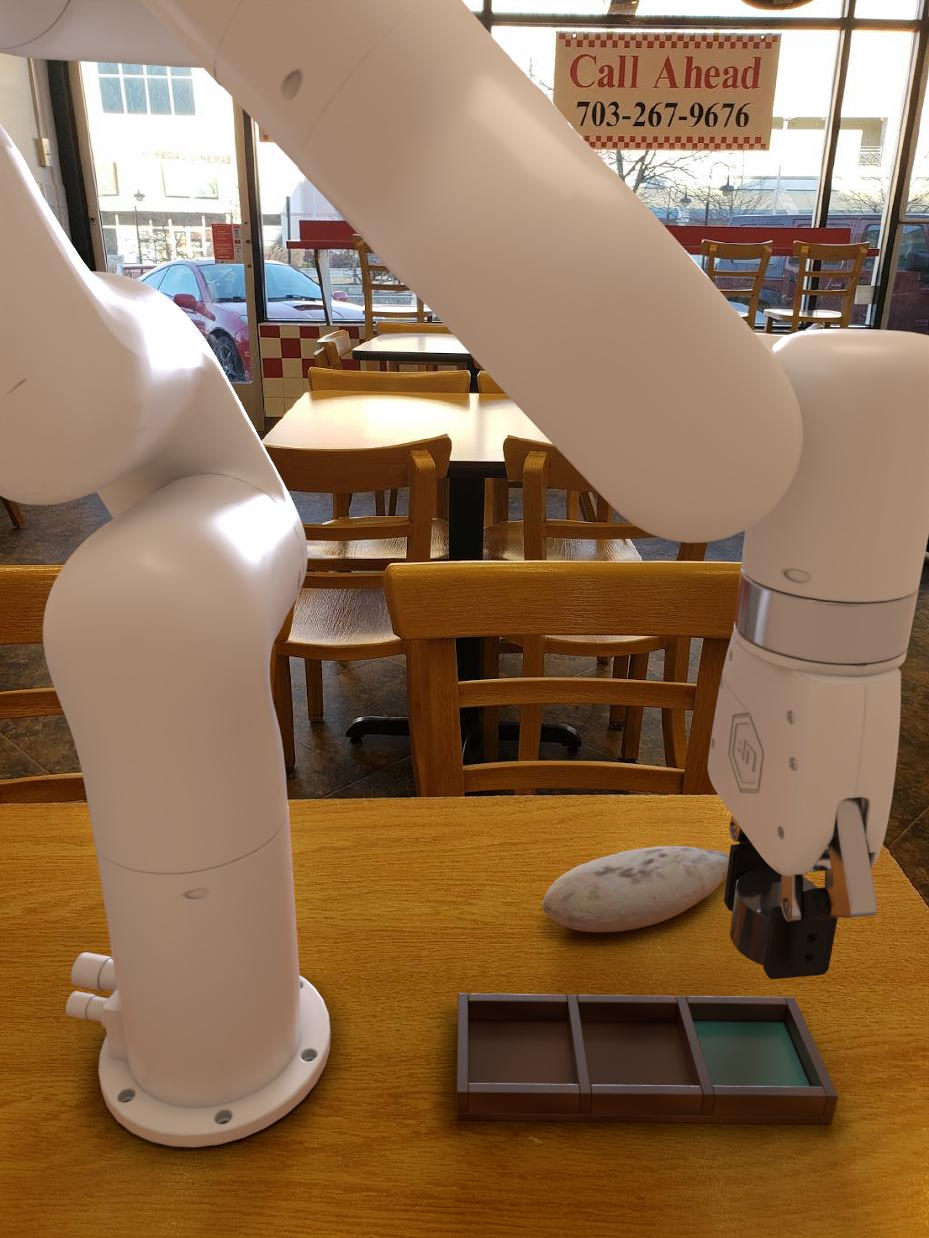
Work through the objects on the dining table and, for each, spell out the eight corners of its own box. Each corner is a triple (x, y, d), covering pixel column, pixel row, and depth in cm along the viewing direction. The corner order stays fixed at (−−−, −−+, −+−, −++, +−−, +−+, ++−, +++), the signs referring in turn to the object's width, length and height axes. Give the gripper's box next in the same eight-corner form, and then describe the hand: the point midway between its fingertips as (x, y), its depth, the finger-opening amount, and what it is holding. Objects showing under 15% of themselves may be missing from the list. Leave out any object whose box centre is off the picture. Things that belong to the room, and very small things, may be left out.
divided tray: (789, 1023, 56) (794, 996, 55) (832, 1124, 49) (838, 1096, 49) (457, 1019, 56) (457, 992, 55) (456, 1120, 49) (456, 1091, 49)
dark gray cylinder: (730, 962, 48) (737, 914, 47) (728, 907, 52) (734, 862, 51) (821, 976, 47) (830, 927, 46) (812, 919, 51) (820, 873, 50)
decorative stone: (754, 899, 67) (760, 858, 65) (570, 966, 60) (573, 922, 59) (698, 853, 72) (702, 814, 71) (522, 910, 65) (524, 869, 64)
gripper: (680, 560, 50) (654, 849, 57) (832, 699, 35) (772, 1075, 41) (813, 556, 51) (772, 840, 58) (1021, 689, 35) (932, 1059, 42)
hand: (773, 935), depth 49 cm, fingers closed on dark gray cylinder, 4 cm apart
